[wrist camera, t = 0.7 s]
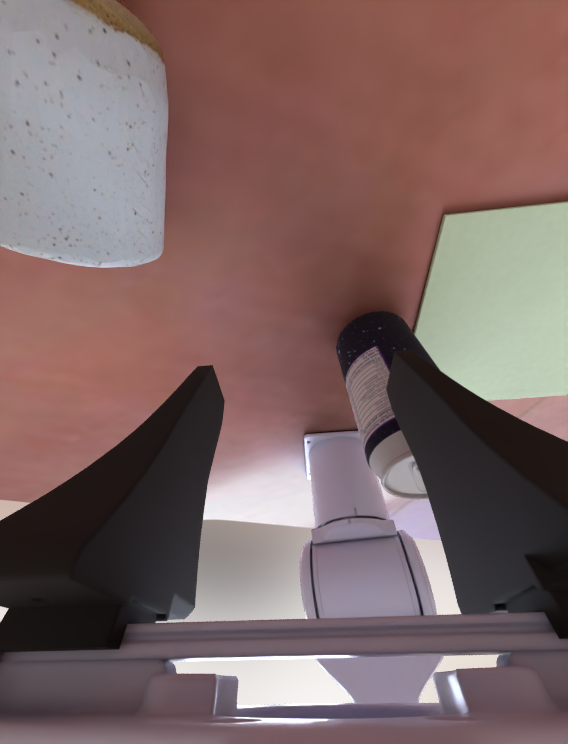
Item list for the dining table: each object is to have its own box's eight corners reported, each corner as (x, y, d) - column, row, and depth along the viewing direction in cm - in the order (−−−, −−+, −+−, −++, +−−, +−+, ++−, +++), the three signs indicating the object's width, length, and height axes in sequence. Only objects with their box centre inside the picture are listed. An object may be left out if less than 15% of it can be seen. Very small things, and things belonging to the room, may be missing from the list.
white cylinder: (193, 55, 12) (101, -42, 6) (181, 243, 17) (124, 292, 11) (-98, -79, 10) (-677, -427, 4) (-13, 180, 15) (-212, 199, 9)
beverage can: (354, 374, 24) (399, 511, 15) (321, 332, 21) (353, 470, 12) (415, 343, 22) (511, 481, 13) (388, 291, 19) (488, 422, 10)
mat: (570, 392, 26) (573, 394, 26) (394, 405, 27) (395, 407, 27) (748, 181, 15) (755, 181, 15) (443, 214, 16) (445, 215, 16)
